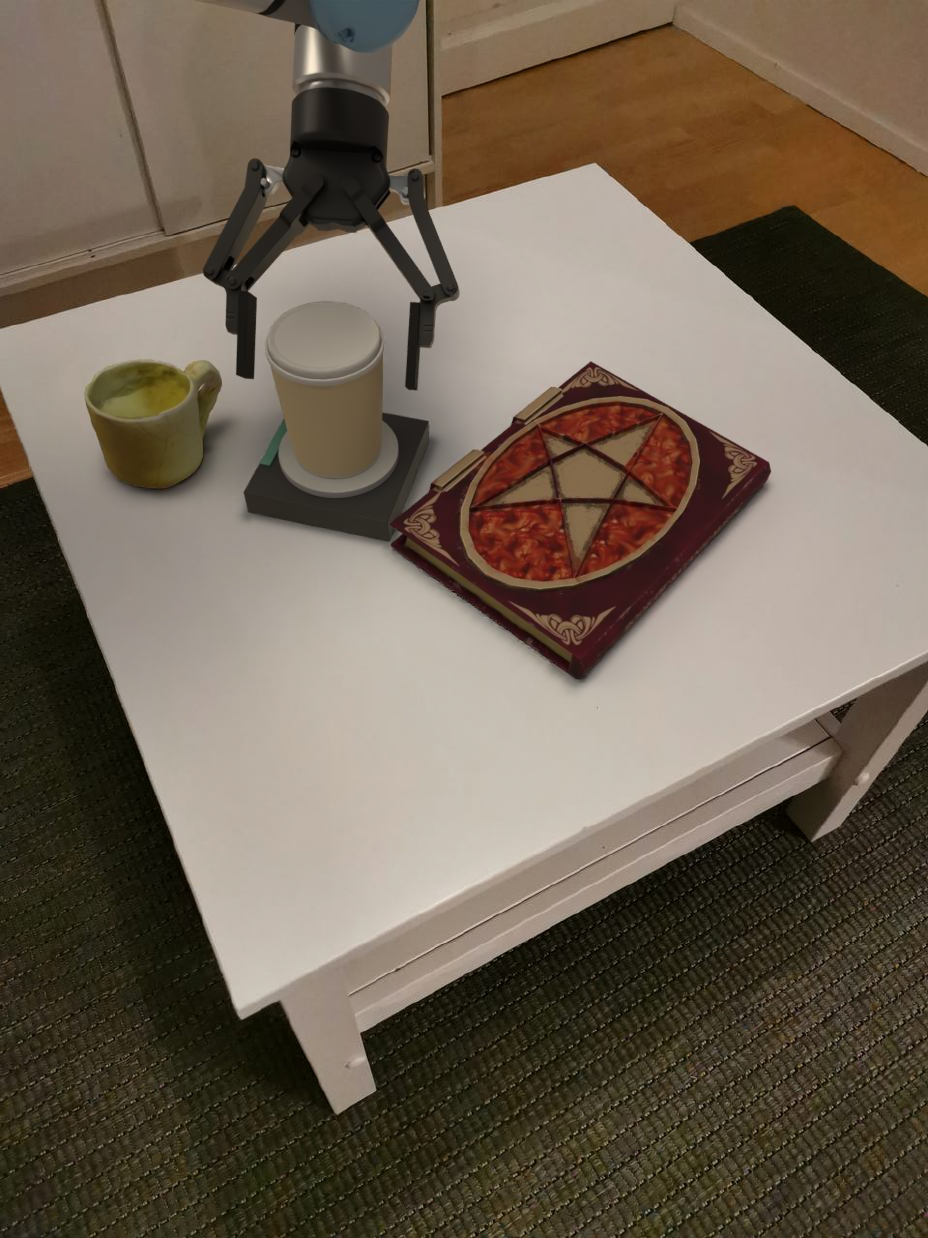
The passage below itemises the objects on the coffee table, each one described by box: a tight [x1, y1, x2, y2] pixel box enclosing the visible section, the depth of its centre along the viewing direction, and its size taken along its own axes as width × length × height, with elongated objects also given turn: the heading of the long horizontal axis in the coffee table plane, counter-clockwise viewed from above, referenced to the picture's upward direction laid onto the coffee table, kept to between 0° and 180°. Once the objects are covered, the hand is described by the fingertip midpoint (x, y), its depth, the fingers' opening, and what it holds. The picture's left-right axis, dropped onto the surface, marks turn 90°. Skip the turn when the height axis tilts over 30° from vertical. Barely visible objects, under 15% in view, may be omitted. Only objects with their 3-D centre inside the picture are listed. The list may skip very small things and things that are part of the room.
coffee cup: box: [264, 300, 385, 479], centre depth 76 cm, size 9×9×12 cm
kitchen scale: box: [243, 411, 430, 542], centre depth 82 cm, size 13×13×3 cm
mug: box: [83, 358, 223, 490], centre depth 82 cm, size 12×10×10 cm
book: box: [390, 360, 772, 679], centre depth 80 cm, size 28×21×5 cm
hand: (328, 383), depth 74 cm, fingers open, 13 cm apart
